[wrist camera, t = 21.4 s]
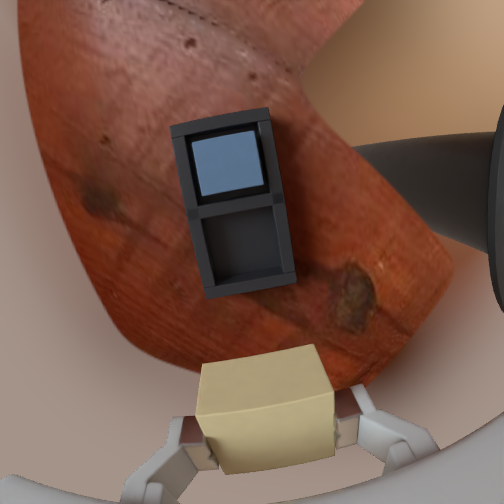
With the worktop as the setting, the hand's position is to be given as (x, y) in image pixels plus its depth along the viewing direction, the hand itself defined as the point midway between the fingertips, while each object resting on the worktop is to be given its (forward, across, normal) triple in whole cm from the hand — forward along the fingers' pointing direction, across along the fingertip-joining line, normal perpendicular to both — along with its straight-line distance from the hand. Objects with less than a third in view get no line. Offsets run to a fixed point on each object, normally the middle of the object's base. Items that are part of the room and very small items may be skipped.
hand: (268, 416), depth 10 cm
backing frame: (+17, 0, -6) cm, 18 cm away
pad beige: (+2, 0, 0) cm, 2 cm away
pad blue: (+16, 0, -10) cm, 19 cm away
